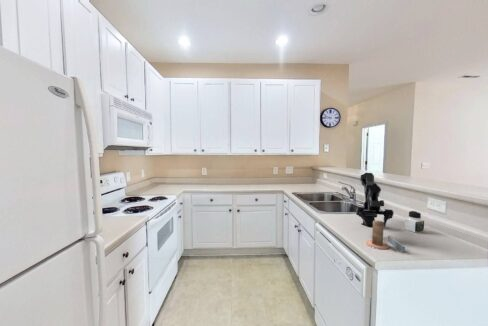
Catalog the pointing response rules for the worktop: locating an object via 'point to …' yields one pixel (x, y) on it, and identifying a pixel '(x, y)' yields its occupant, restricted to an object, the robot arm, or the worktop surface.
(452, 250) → the worktop surface
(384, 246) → the resting pad
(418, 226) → the medicine bottle
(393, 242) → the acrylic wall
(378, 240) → the walnut cylinder
